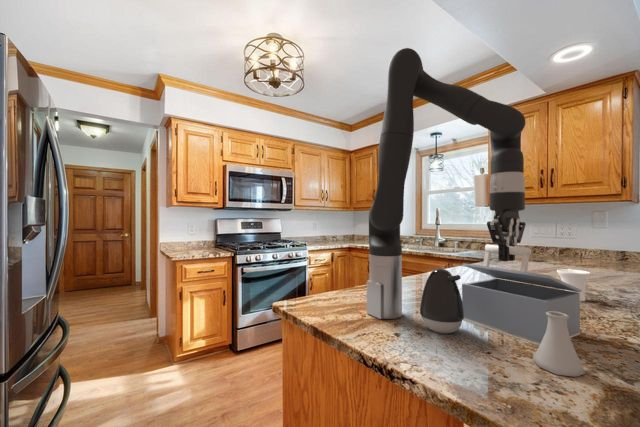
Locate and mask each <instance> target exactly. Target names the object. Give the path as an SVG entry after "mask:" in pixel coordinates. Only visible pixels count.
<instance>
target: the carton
mask: <svg viewBox="0 0 640 427" xmlns="http://www.w3.org/2000/svg"><path fill="white" fill-rule="evenodd" d="M461 299H462V304H463V310H464V319H463V320H462V321H464V322H467V323H470V324H473V323H474V325H477V326H479V327H483V328H485V329H489V330H492V331H494V332H498V333H501V334H504V335H507V336H510V337H512V338H516V339H519V340H522V341H525V342H529V343H531V344H534V345H536V346H540V344H541V341H542V339H543V337H544V335H545V333H546V329H547V324H548V316H547V315H546V312H549V311H553V312H560V313H564V314H566V315H568V316H569V319H567V328H568V332H569V337H570V339H571V338H574V337H577V336H579V335H580V334H581V314H580V313H581V301H580V293H577V292H571V291H565V290H564V289H558V288H552V287H546V286H540V285H535V284H529V283H523V282H517V281H511V280H506V279H500V278H495V277H494V278H490V279H485V280H478V281H477V280H476V281H473V282H466V283H462V284H461Z"/></svg>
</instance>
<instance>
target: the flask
mask: <svg viewBox="0 0 640 427" xmlns="http://www.w3.org/2000/svg"><path fill="white" fill-rule="evenodd" d="M546 315H547V316H548V324H547V329H546V333H545V335H544V337H543V339H542V341H541V344H540V345H538V348H537V350H536V352H535V353H534V355H533V358H532V361H533V362H534V363H535V364H536V365H537V366H538V367H539V368H541V369H543V370H545V371H548V372H550V373H552V374H555V375H558V376H566V377H567V376H568V377H579V376H583V375H584V374H586V372H585V369H584V367H583V366H584V365H583V364H582V363H581V360H580V358H579V355H578V353H577V351H576V349H575V346H574V344H573V342H572V340H571V338H570V337H569V332H568V328H567V319H569V316H568V315H566V314H564V313H560V312H553V311H549V312H546Z"/></svg>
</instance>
